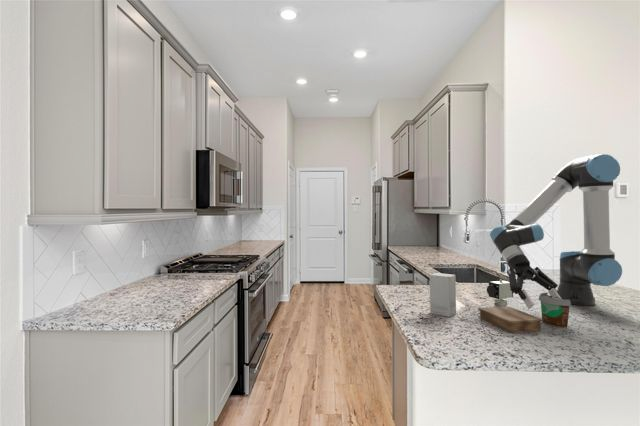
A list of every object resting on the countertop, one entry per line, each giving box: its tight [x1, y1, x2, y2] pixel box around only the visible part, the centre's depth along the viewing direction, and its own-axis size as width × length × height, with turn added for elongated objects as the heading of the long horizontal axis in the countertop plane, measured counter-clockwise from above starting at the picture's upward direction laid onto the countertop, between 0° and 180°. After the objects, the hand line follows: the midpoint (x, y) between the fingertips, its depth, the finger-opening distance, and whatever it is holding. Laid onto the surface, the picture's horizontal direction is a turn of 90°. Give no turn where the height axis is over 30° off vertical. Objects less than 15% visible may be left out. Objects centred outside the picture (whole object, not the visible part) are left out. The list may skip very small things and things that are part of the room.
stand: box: [478, 306, 543, 333], centre depth 131 cm, size 13×17×4 cm
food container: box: [538, 292, 572, 328], centre depth 133 cm, size 12×6×10 cm, turn 5°
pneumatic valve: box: [486, 279, 515, 307], centre depth 154 cm, size 6×12×12 cm, turn 114°
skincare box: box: [429, 272, 457, 318], centre depth 144 cm, size 8×7×16 cm
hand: (546, 306), depth 134 cm, fingers open, 13 cm apart
